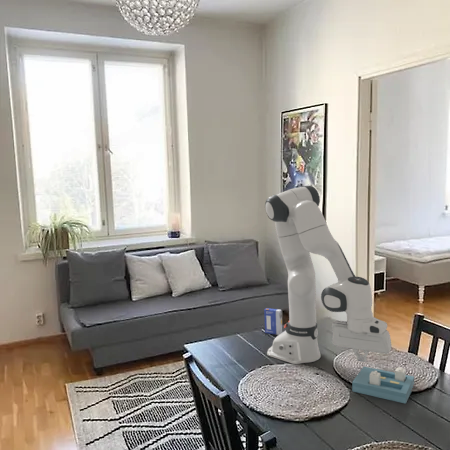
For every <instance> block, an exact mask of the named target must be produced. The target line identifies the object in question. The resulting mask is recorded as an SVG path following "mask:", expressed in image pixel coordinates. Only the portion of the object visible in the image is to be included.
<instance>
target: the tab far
mask: <svg viewBox="0 0 450 450" xmlns="http://www.w3.org/2000/svg"><path fill="white" fill-rule="evenodd" d="M406 370H407V369H406V368H403V367H402V366H399V367H396V368H395V370H394V373H395V380H399V381H404V382H405V381H406V375H407V373H406Z"/></svg>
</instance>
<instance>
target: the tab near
mask: <svg viewBox="0 0 450 450" xmlns="http://www.w3.org/2000/svg"><path fill="white" fill-rule="evenodd" d="M370 384H373V385H378V386H380V385H381V373H378V372H377V371H374V372H373V371H372V372H371V373H370Z"/></svg>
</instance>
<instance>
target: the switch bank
mask: <svg viewBox="0 0 450 450" xmlns="http://www.w3.org/2000/svg"><path fill="white" fill-rule="evenodd" d="M372 371H373V372H374V371H377V372H378V373H381V385H380V386H378V385H373V384H370V373H371V372H372ZM351 382H352V385H351V387H352V391H351V392H354V393H358V394H363V395H367V396H371V397H375V398H380V399H385V400H388V401H391V402H397V403H402V404H407V401H408V399H409V397H410V395H411V394H412V391H413V389H414V387H413V385H414V386H415V376H414V375H408V374H406V381H405V382H404V381H399V380H395V371H394V372H393V371H387V370H384V369H379V368H373V367H368V366H363V367H361V369H360V370H359V372H358V374H357V375H356V376H355V378H354V379H353V381H351ZM412 388H413V389H412ZM411 390H412V391H411Z"/></svg>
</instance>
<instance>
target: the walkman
mask: <svg viewBox="0 0 450 450" xmlns="http://www.w3.org/2000/svg"><path fill="white" fill-rule="evenodd" d="M263 312H264V333H265V334H270V335H277V336H278V335H279V334H281V333H282V332H283V319H282V316H283V315H282V313H283V312H282V309H279V308H270V307H269V308H268V307H266V308H264V311H263Z"/></svg>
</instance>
